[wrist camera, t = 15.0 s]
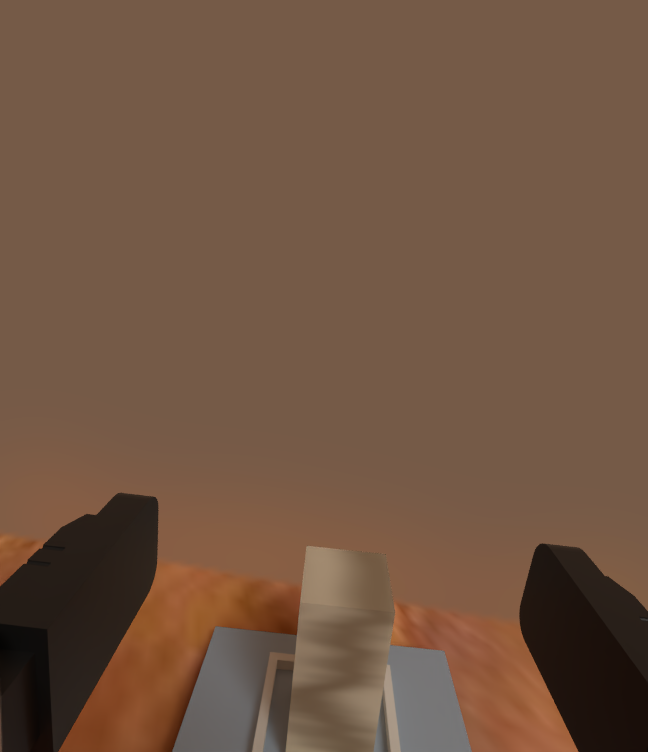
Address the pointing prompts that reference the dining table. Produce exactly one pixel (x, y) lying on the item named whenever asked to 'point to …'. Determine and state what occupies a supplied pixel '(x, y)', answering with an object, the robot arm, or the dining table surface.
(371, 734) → the pillar
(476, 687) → the dining table surface
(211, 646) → the board
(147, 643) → the dining table surface
